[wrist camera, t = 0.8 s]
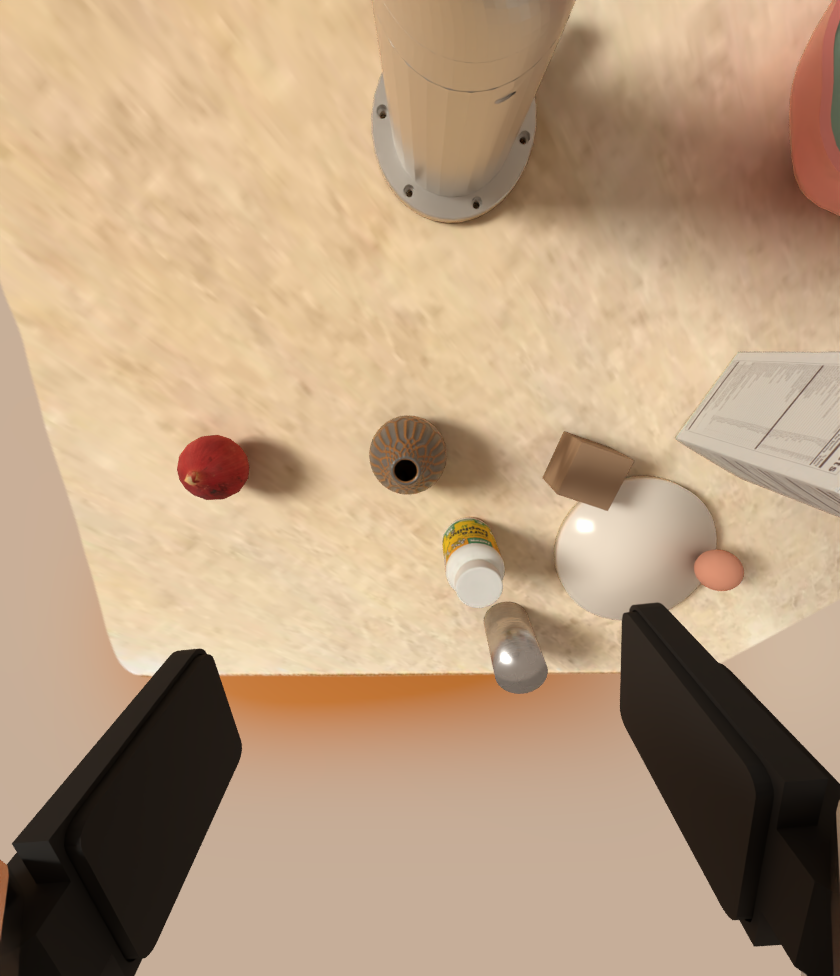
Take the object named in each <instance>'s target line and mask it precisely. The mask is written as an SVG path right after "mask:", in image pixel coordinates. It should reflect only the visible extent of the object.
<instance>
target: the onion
mask: <svg viewBox="0 0 840 976" xmlns="http://www.w3.org/2000/svg"><path fill="white" fill-rule="evenodd" d="M177 471H178V475H179V480H180V481H181V483H182V484H183V486H184V487H185V489H187V490H188V491H189V492H190V493H192V494H193V495H195V496H198V497H200V498H203V499H206V500H214V499H225V498H227V497H229V496H231V495H233V494H235V493H237V492H239V491H240V489H241V488H242V487H243V485H244V484H245V483H246V481H247V479H248V475H249V463H248V459H247V456H246V454H245V453H244V451H243V450H242V448H241V447H240V446H239V445H238V444H236V443H235V442H234V441H232V440H231V439H229V438H226V437H223V436H219V435H212V436H204V437H200V438H198V439H196V440H194V441H193V442H191V443H190V444H188V445H187V446H186V448H185V449H184V450H183V452H182V453H181V455H180V456H179V461H178V467H177Z"/></svg>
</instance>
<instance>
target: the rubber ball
mask: <svg viewBox="0 0 840 976" xmlns="http://www.w3.org/2000/svg"><path fill="white" fill-rule="evenodd" d="M694 572H695V575H696V577H697V579H698V580H699V581H700V582H701V583H702V584H703V585H704V586H706V587H708V588H710V589H713V590H717V591H727V590H731V589H733V588H735V587H736V586H738V585H739V584H740V583H741V581H742V579H743V576H744V569H743V566H742V564H741V562H740V560H739V559H738V558H737V557H736V556H734V555H733V554H731V553H729V552H727V551H724V550H709V551H706V552H704V553H702V554H701V555H700V556H699V557H698V558H697V559H696V561H695V564H694Z"/></svg>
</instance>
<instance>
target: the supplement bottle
mask: <svg viewBox="0 0 840 976" xmlns="http://www.w3.org/2000/svg"><path fill="white" fill-rule="evenodd" d="M442 543H443V553H444V562H445V572H446V577H447V580H448V582H449V584H450V586H451V587H452V588H453V589H454V590H455V591H456V593H457V596H458V597H459V599H460V600H461V601H462V602H463V603H464V604H466V605H468V606H470V607H474V608H483V607H487V606H490V605H492V604H493V603H495V602H496V601H497V600H498V599H499V597H500V596H501V594H502V590H503V582H502V580H503V577H504V573H505V567H504V562H503V559H502V557H501V554H500V552H499V549H498V546H497V544H496V541H495V538H494V536H493V533H492V531H491V529H490V528H489V527H488V525H487V524H485V523H484V522H483V521H481V520H479V519H477V518H473V517H465V518H461V519H458V520H456V521H454V522H453V523H452V524H451V525H450V526H449V527H448V528H447V529H446V531H445V533H444V535H443V540H442Z"/></svg>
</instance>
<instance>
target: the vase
mask: <svg viewBox="0 0 840 976" xmlns="http://www.w3.org/2000/svg"><path fill="white" fill-rule="evenodd" d="M446 457H447V455H446V446H445V443H444V440H443V438H442V436H441V434H440V432H439V431H438V430H437V429H436V427H435V426H434V425H432V424H431V423H430V422H428V421H427V420H425V419H423V418H420V417H416V416H400V417H397V418H394V419H392V420H390V421H388V422H387V423H385V424H384V425H383V426H382V427H381V428H380V429H379V430H378V431H377V433H376V434H375V436H374V438H373V440H372V443H371V446H370V452H369V458H370V465H371V468H372V470H373V473H374V475H375V476H376V478H377V479H378V480H379V482H380V483H381V484H382V485H383V486H385V487H386V488H388V489H389V490H391V491H393V492H396V493H400V494H416V493H420V492H422V491H425V490H426V489H428V488H430V487H431V486H432V485H433V484H435V482H436V481H437V480H438V479H439V478H440V476H441V474H442V473H443V470H444V468H445V464H446Z"/></svg>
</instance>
